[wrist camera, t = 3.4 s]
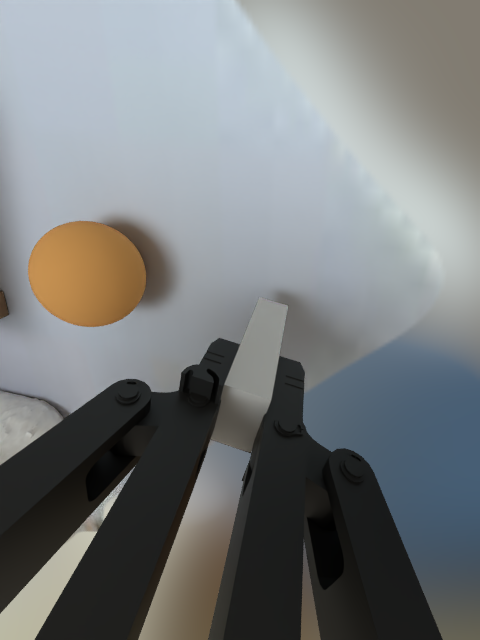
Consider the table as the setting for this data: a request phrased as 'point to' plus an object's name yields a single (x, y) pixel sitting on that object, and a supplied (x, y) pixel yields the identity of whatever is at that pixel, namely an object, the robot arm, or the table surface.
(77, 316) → the ball
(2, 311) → the bridge
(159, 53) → the table surface
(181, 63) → the table surface
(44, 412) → the white creature statuette
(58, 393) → the table surface
